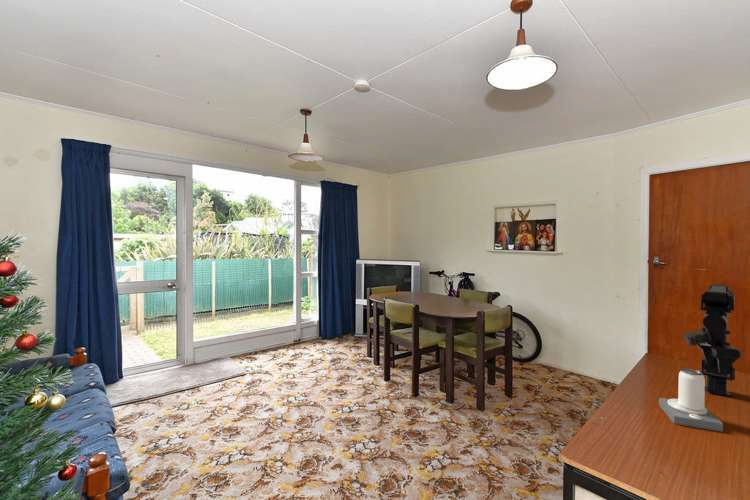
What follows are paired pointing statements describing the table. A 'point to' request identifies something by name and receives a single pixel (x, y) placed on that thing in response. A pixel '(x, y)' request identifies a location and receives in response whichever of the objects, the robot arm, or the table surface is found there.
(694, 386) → the can
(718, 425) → the scale
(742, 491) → the table surface
